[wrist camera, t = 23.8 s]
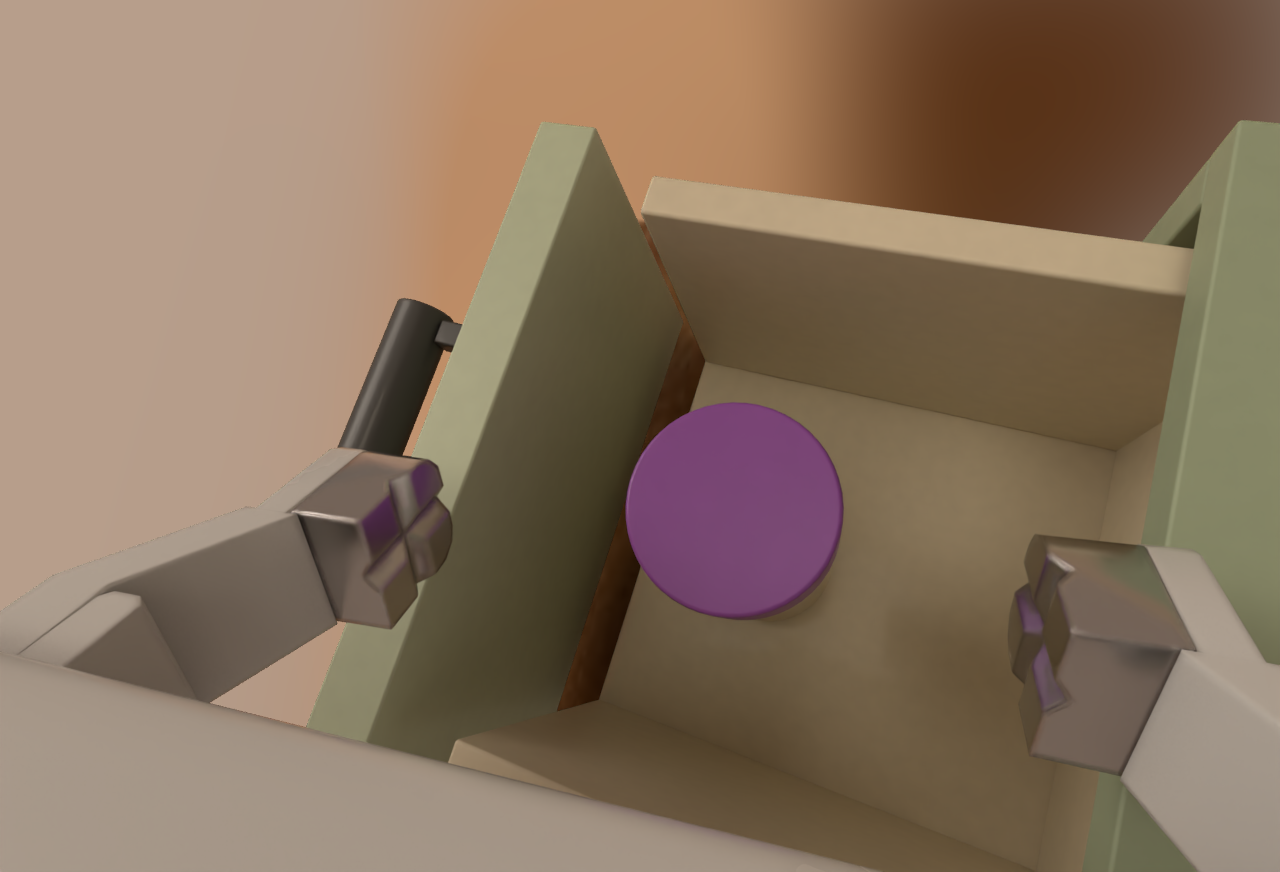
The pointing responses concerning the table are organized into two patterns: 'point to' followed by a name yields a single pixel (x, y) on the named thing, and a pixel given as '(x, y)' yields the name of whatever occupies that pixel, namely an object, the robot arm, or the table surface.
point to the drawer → (872, 496)
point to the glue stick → (736, 513)
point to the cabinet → (1216, 432)
